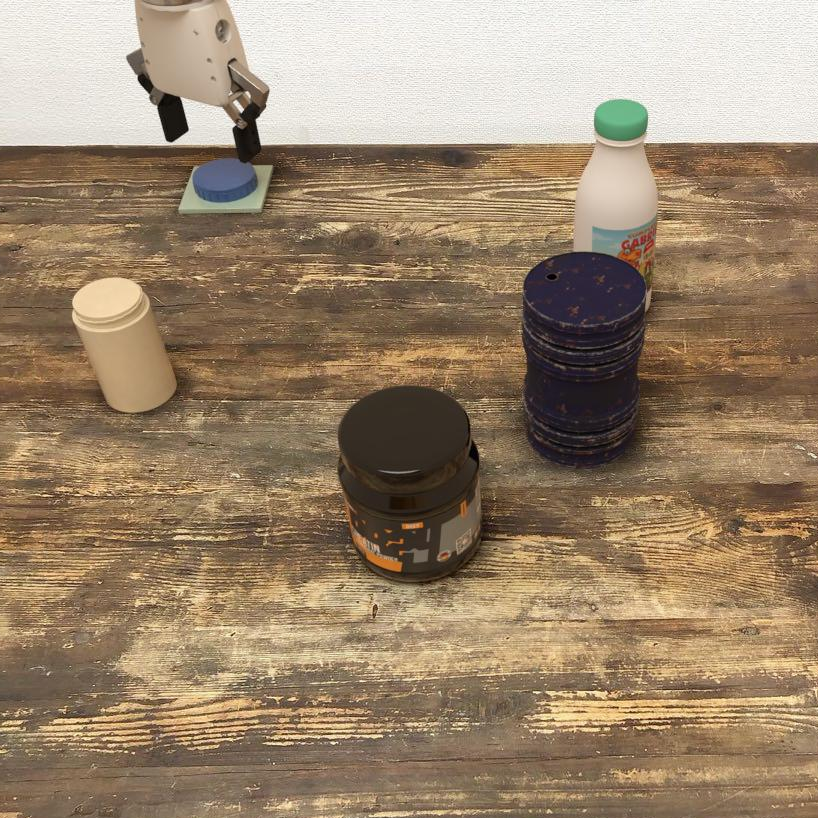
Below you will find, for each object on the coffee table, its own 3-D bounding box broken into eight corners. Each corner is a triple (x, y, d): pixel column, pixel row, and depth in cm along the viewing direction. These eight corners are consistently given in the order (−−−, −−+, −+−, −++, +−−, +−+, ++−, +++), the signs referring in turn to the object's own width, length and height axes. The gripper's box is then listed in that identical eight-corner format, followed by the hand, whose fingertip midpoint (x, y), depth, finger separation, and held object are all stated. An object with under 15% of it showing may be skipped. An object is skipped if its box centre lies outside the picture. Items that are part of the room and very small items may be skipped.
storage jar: (655, 413, 95) (669, 271, 84) (607, 484, 89) (615, 341, 78) (555, 379, 98) (556, 238, 87) (503, 445, 93) (497, 303, 81)
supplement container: (328, 528, 86) (302, 417, 77) (437, 471, 90) (424, 360, 81) (398, 610, 81) (379, 501, 72) (510, 546, 85) (506, 435, 76)
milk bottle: (560, 317, 104) (562, 122, 89) (588, 274, 109) (594, 82, 94) (635, 336, 102) (650, 139, 87) (660, 291, 107) (678, 97, 92)
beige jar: (119, 422, 95) (81, 329, 87) (95, 383, 98) (56, 290, 91) (187, 395, 97) (156, 302, 89) (161, 358, 101) (130, 265, 93)
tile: (179, 214, 117) (177, 209, 116) (195, 170, 123) (194, 165, 122) (261, 212, 117) (260, 208, 116) (273, 169, 123) (272, 164, 122)
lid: (270, 178, 120) (267, 166, 119) (233, 208, 116) (229, 196, 115) (220, 164, 122) (217, 152, 121) (182, 194, 118) (178, 181, 117)
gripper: (271, -18, 103) (300, 149, 115) (129, -49, 108) (172, 114, 120) (223, 12, 98) (259, 182, 111) (77, -22, 103) (127, 144, 116)
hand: (214, 146), depth 116 cm, fingers open, 9 cm apart
